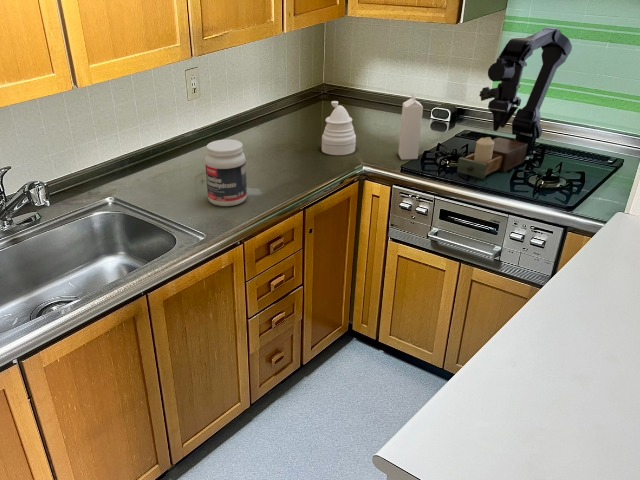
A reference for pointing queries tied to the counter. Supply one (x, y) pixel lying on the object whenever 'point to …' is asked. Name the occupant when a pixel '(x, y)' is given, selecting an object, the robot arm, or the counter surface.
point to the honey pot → (338, 132)
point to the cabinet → (510, 152)
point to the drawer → (479, 165)
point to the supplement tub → (226, 172)
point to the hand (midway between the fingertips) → (498, 129)
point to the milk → (410, 129)
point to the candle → (484, 150)
